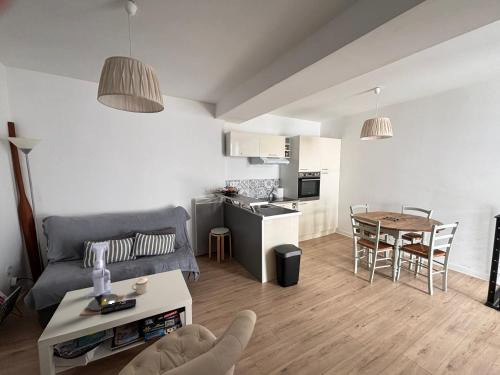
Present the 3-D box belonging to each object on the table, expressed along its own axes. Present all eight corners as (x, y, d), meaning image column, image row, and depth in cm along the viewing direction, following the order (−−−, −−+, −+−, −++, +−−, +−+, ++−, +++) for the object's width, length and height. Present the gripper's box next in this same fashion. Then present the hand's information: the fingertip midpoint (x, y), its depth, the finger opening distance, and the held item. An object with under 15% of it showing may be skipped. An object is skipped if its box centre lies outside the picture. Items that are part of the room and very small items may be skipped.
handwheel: (82, 312, 142) (81, 303, 142) (98, 297, 160) (97, 289, 160) (109, 310, 144) (109, 301, 144) (122, 295, 162) (122, 287, 162)
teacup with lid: (148, 287, 176) (148, 274, 175) (148, 292, 168) (147, 279, 167) (132, 290, 171) (132, 277, 171) (131, 296, 163) (130, 282, 162)
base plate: (97, 298, 161) (97, 296, 161) (124, 296, 163) (124, 294, 163) (79, 315, 141) (79, 314, 141) (110, 313, 144) (110, 311, 144)
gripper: (83, 291, 138) (85, 310, 139) (108, 287, 143) (109, 305, 144) (88, 285, 145) (89, 303, 146) (112, 282, 150) (112, 299, 151)
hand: (99, 304), depth 145 cm, fingers closed
